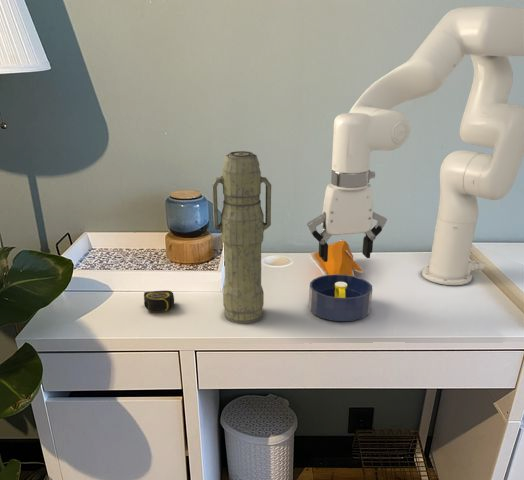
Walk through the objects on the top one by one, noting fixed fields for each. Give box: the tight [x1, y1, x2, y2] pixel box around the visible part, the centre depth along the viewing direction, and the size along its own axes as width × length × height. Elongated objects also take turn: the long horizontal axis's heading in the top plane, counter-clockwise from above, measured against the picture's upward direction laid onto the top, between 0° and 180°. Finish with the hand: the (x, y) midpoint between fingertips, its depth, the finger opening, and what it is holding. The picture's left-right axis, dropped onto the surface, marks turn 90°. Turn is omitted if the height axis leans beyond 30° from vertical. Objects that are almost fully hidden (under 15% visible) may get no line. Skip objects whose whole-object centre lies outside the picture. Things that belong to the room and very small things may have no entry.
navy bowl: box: [308, 274, 373, 322], centre depth 127 cm, size 14×14×6 cm
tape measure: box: [143, 290, 175, 313], centre depth 127 cm, size 7×7×4 cm
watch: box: [335, 282, 347, 298], centre depth 126 cm, size 6×3×6 cm, turn 3°
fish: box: [309, 239, 365, 277], centre depth 144 cm, size 7×27×15 cm
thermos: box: [211, 150, 272, 325], centre depth 117 cm, size 9×12×35 cm
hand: (345, 257), depth 122 cm, fingers open, 9 cm apart
